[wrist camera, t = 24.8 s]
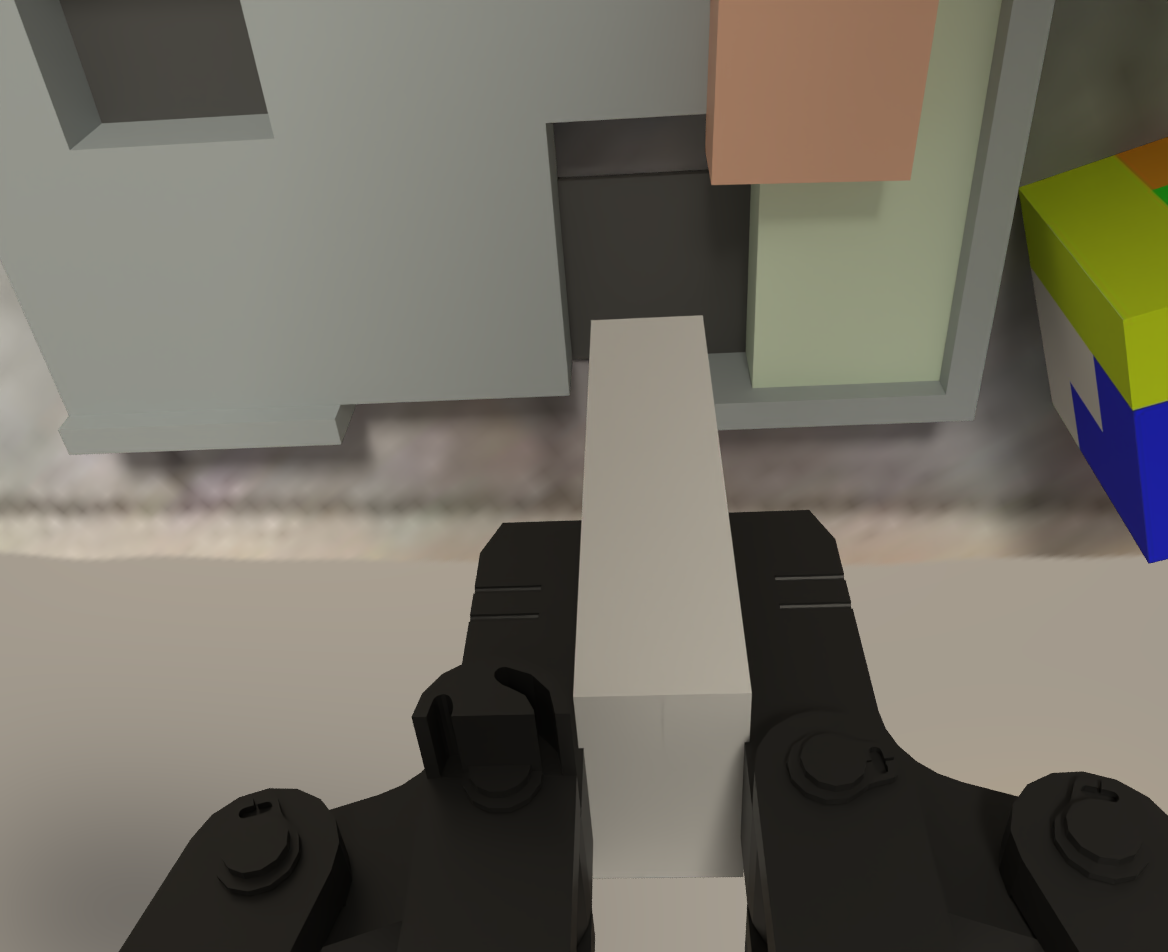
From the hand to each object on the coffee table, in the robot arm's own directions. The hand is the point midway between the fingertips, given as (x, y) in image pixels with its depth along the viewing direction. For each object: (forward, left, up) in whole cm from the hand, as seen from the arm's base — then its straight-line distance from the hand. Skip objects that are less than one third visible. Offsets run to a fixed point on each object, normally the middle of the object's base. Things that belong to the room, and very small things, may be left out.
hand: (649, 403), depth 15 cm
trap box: (+4, -6, -24) cm, 26 cm away
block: (+1, +5, -21) cm, 22 cm away
